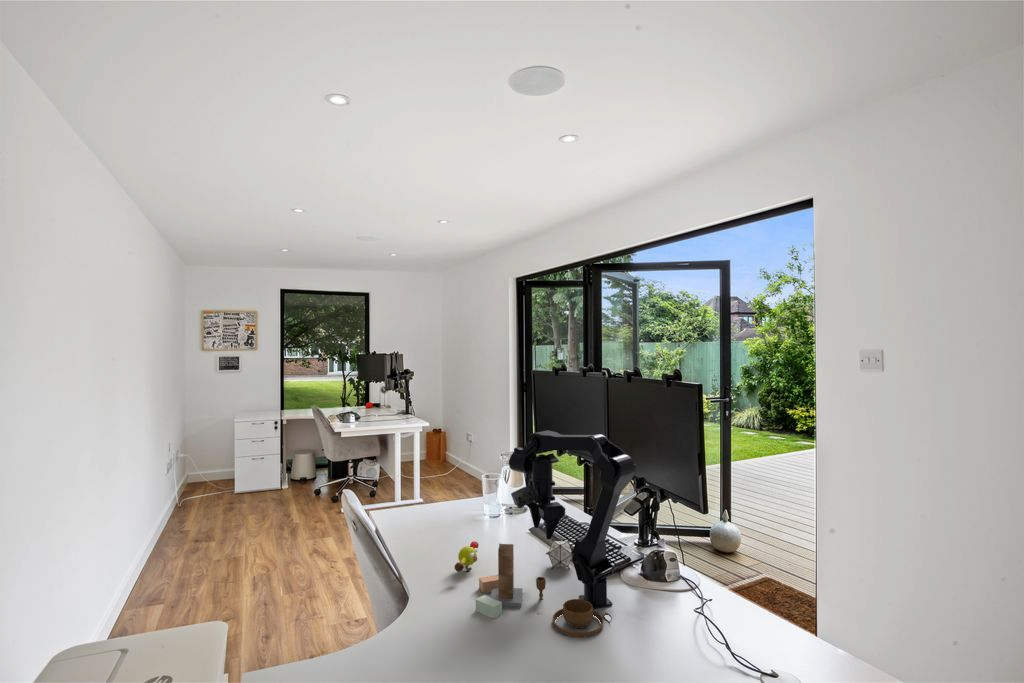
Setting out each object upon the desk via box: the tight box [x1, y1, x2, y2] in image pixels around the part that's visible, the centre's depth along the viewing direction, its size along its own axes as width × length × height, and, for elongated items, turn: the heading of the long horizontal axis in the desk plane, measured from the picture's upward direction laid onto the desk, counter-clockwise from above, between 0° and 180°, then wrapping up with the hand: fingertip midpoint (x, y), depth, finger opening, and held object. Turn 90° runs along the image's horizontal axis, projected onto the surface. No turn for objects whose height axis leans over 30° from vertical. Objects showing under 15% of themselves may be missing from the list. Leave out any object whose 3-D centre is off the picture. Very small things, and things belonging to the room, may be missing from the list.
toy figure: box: [454, 541, 479, 573], centre depth 160 cm, size 18×6×7 cm, turn 168°
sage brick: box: [475, 594, 503, 619], centre depth 136 cm, size 6×3×3 cm, turn 50°
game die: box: [545, 538, 573, 571], centre depth 162 cm, size 9×8×10 cm
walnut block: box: [497, 543, 515, 599], centre depth 142 cm, size 4×4×12 cm
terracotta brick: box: [478, 574, 498, 594], centre depth 148 cm, size 6×3×3 cm, turn 112°
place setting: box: [535, 576, 613, 638], centre depth 134 cm, size 18×20×6 cm
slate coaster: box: [489, 587, 524, 609], centre depth 142 cm, size 8×8×1 cm
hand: (542, 533), depth 153 cm, fingers open, 9 cm apart
